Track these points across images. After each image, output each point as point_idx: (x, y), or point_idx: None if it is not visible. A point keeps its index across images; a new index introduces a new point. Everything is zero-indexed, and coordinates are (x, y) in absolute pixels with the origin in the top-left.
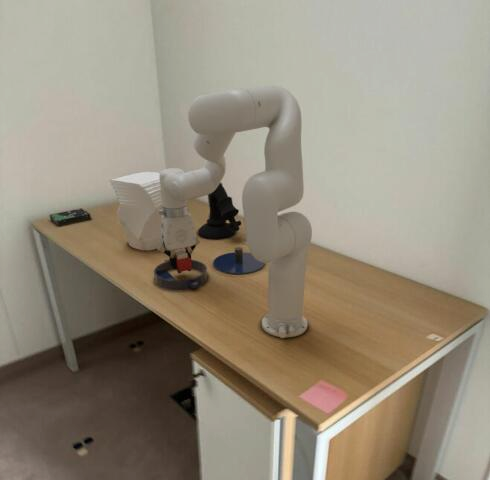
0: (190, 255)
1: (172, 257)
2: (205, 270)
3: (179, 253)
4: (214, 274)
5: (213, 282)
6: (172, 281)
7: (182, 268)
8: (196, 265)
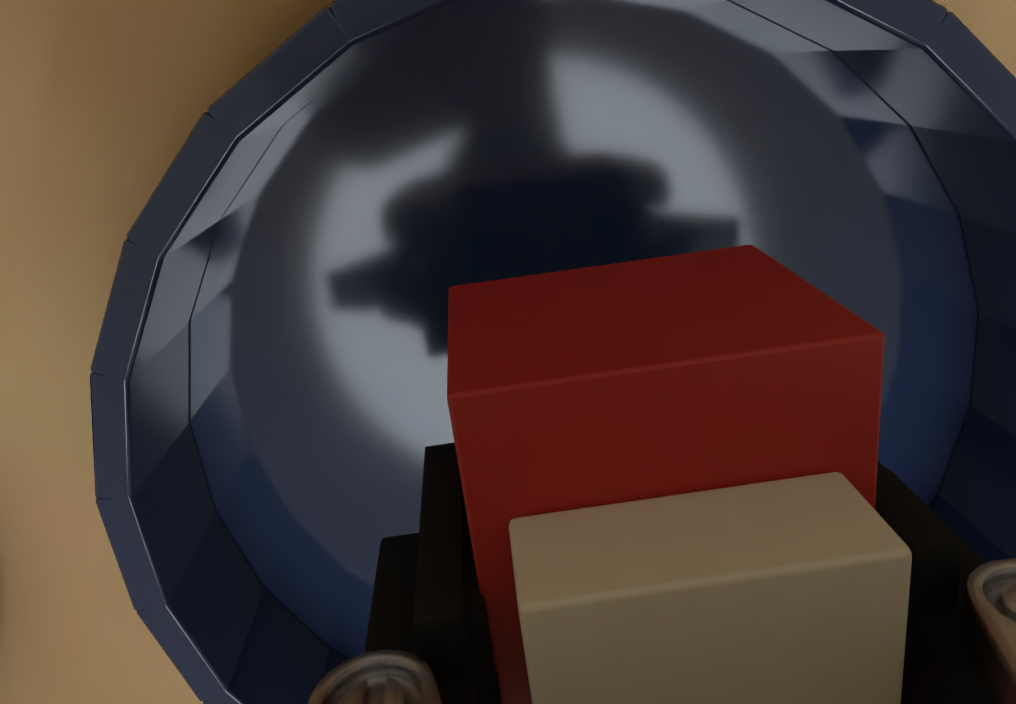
0: (383, 648)
1: (1000, 592)
2: (142, 264)
3: (777, 698)
4: (25, 376)
5: (95, 79)
6: (963, 29)
7: (701, 272)
8: (261, 646)
